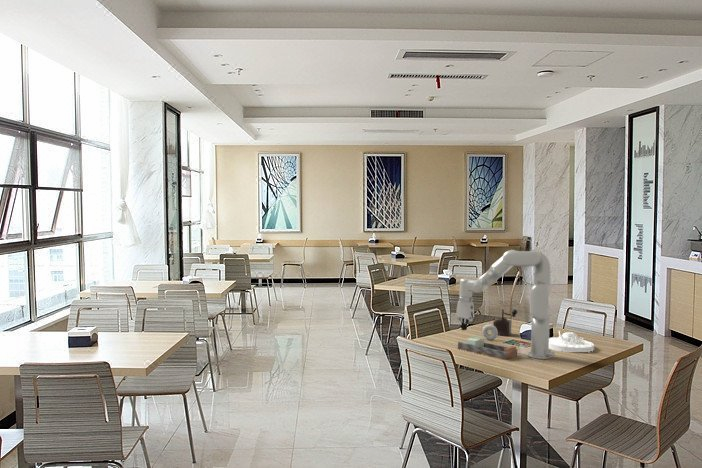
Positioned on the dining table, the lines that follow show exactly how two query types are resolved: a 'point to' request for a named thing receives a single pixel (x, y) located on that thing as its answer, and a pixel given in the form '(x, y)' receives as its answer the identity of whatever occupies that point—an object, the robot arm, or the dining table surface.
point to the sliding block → (476, 341)
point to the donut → (488, 336)
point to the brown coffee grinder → (504, 324)
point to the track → (490, 350)
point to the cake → (570, 343)
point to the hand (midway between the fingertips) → (464, 329)
